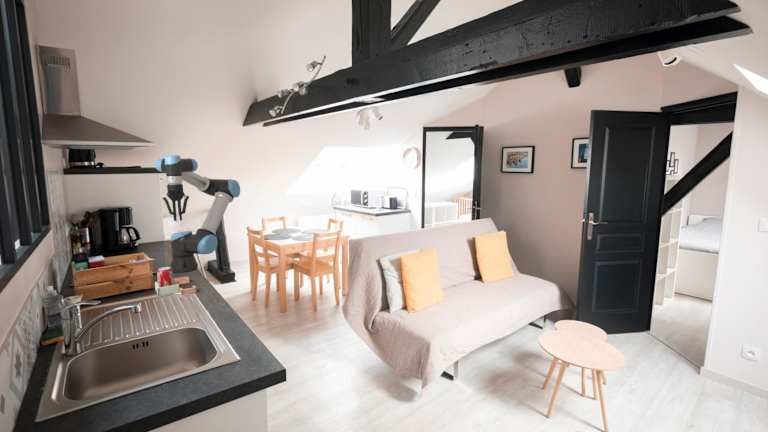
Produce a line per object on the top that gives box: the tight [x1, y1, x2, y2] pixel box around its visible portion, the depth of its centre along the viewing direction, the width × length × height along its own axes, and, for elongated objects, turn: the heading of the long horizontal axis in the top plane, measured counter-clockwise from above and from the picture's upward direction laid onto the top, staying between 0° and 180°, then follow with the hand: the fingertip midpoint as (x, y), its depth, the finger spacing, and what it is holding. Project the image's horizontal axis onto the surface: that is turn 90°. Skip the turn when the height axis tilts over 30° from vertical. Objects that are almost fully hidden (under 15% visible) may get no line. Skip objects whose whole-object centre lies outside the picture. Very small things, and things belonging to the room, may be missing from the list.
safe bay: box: [154, 278, 180, 297], centre depth 197 cm, size 10×12×4 cm
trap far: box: [174, 275, 191, 286], centre depth 209 cm, size 7×4×2 cm, turn 127°
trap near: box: [179, 285, 198, 296], centre depth 195 cm, size 7×4×2 cm, turn 127°
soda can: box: [156, 266, 174, 287], centre depth 197 cm, size 7×7×12 cm
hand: (178, 226), depth 211 cm, fingers closed
